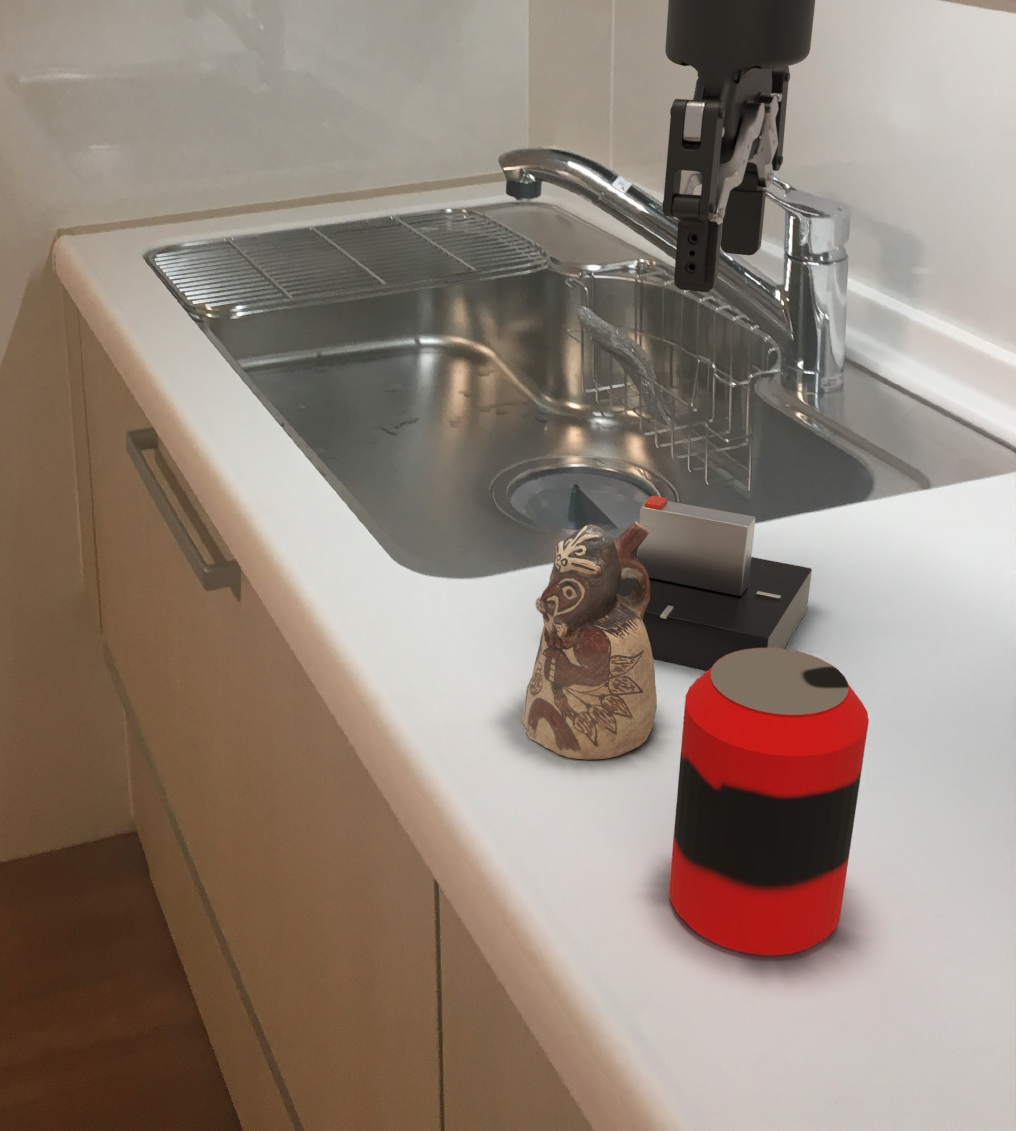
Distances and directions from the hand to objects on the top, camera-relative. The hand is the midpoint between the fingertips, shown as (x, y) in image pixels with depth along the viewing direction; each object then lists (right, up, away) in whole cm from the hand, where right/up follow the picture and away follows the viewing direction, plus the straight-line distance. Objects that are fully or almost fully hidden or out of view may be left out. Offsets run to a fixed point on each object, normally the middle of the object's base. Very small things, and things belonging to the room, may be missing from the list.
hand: (718, 270), depth 88 cm
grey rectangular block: (0, -18, +6) cm, 19 cm away
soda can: (-3, -33, -17) cm, 37 cm away
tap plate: (0, -20, +7) cm, 22 cm away
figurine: (-8, -26, -3) cm, 27 cm away
